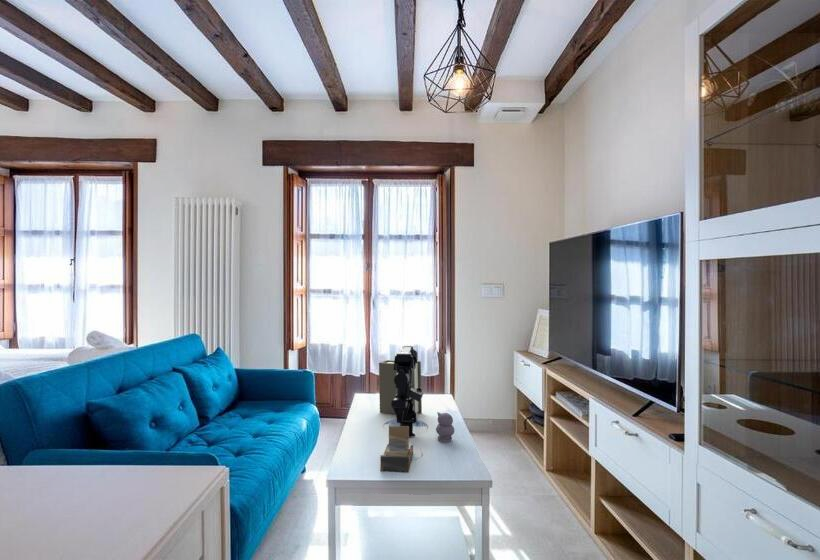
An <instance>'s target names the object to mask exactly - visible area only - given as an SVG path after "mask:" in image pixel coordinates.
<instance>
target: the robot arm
mask: <svg viewBox="0 0 820 560" xmlns="http://www.w3.org/2000/svg"><path fill="white" fill-rule="evenodd" d="M418 357H419V356H418V352H417V350H415V349H414V346H413V345H403V346H402V349H401V350H400V352H397V353H396V355H394V370H397V374H396V376H395V378H394V383H395V384H396V388H397V394H396V398H395V399H394V400H393V401H392V402H391V407H392V408H393V409H394V411H395V414H394V415H396V423H397V424H399V426H409V438H411V437H415V436H416V433H414V431H413V430H414V428H413V427H414V426H413V424H414V425H415V424H416V423H417V422H418V421H417V420H418V419H417V416H418V415H417V413H416V412H415V410H414V406H413V404H412V401H413V400H414V399H415V400H416V401H418V402H420V400H422V399H423V396H424V391H423V388H422V387H421V388H420V387H418V388H417V389H413V388H412V373H413V371H414V369H415V368H416V363H417V362H418V361H419V360H418ZM411 398H412V399H411Z"/></svg>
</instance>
